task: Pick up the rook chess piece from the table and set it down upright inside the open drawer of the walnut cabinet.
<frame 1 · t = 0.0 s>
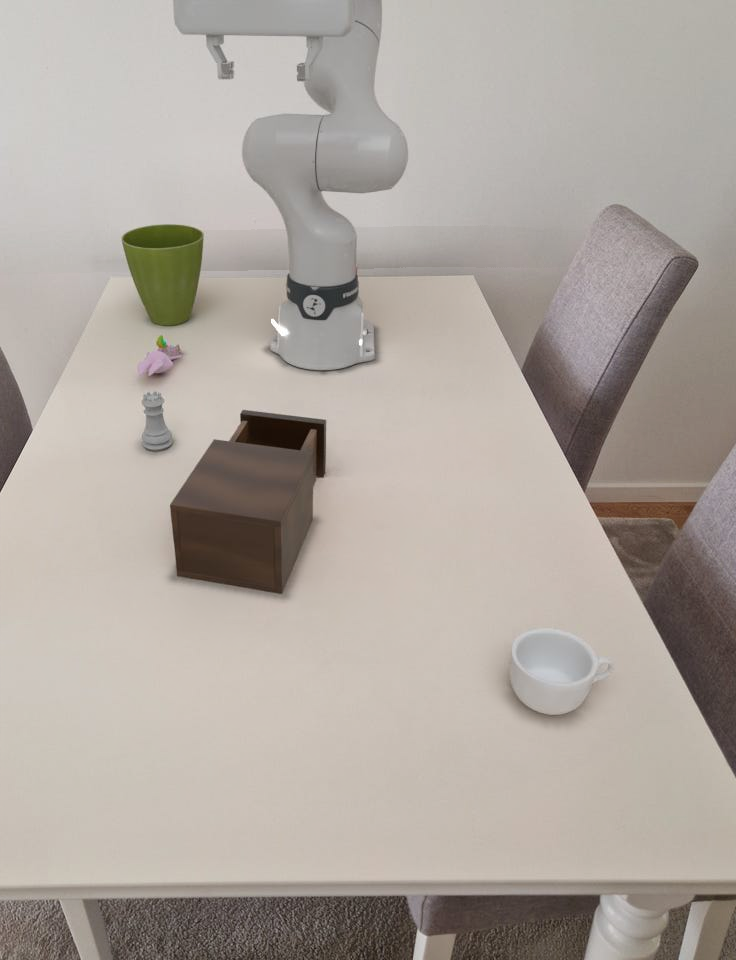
hand: (265, 80, 97), 48 cm above the table, tool pointing down, fingers open, 8 cm apart
flower pot: (170, 319, 163), on the table
drawer: (275, 458, 109), point 5 cm above the table, slide at 8.5 cm
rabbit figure: (160, 371, 143), on the table
cabinet: (248, 547, 102), on the table
teacup: (555, 696, 82), on the table
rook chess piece: (157, 445, 123), on the table
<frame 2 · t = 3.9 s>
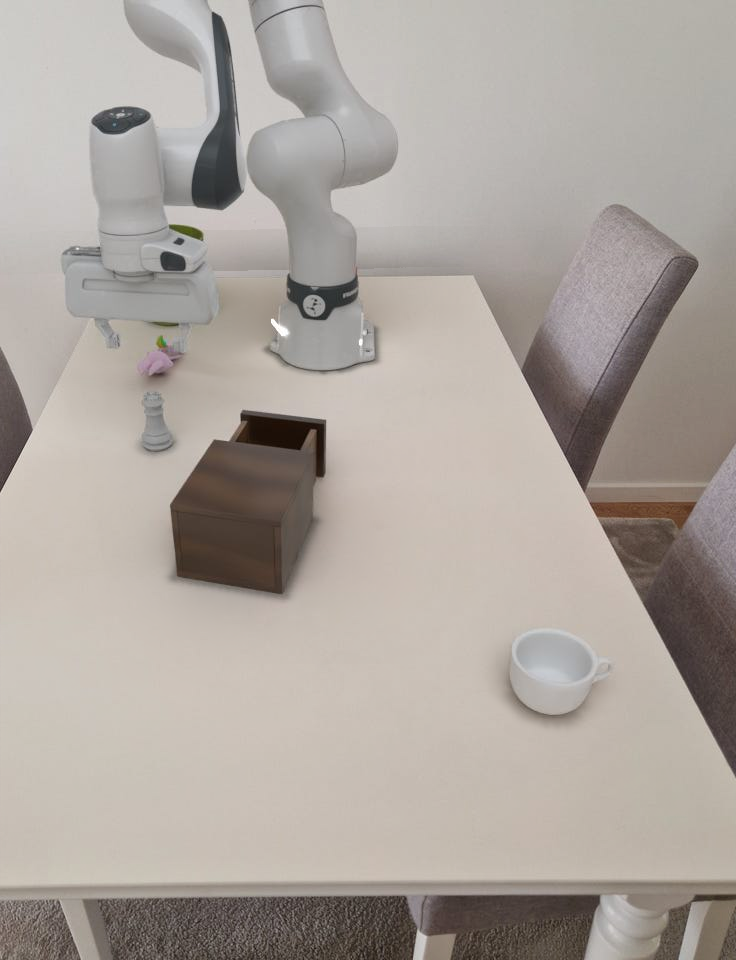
hand: (147, 349, 115), 15 cm above the table, tool pointing down, fingers open, 8 cm apart
nothing on the table moved.
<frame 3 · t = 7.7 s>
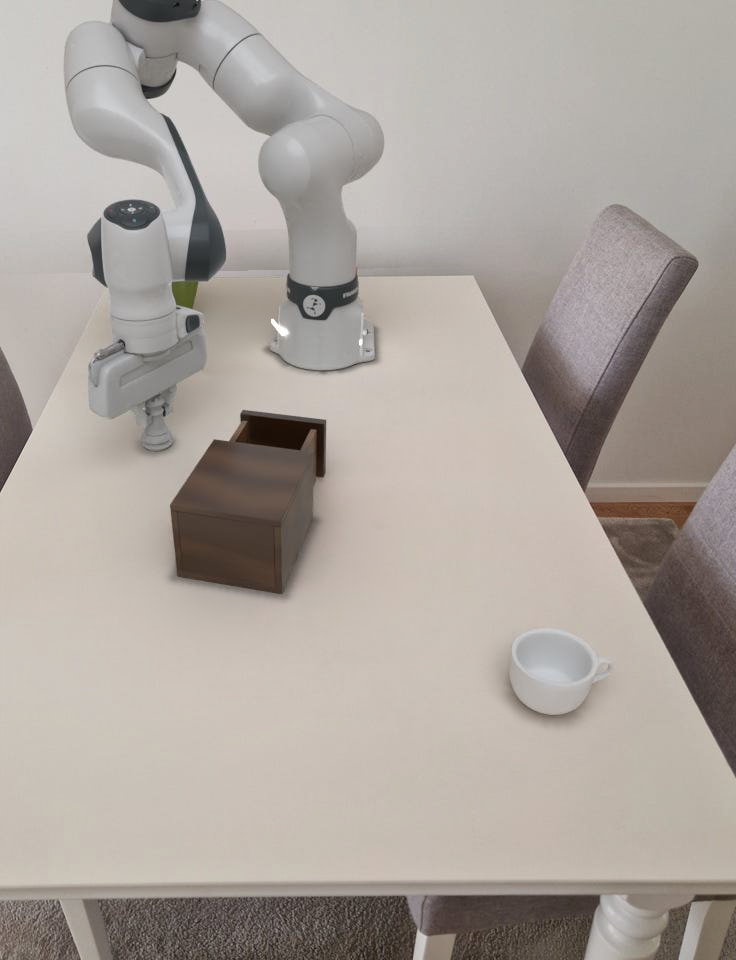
hand: (155, 419, 120), 4 cm above the table, tool pointing down, fingers closed on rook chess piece, 3 cm apart
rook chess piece: (157, 445, 123), on the table, touching gripper
everything else where it was.
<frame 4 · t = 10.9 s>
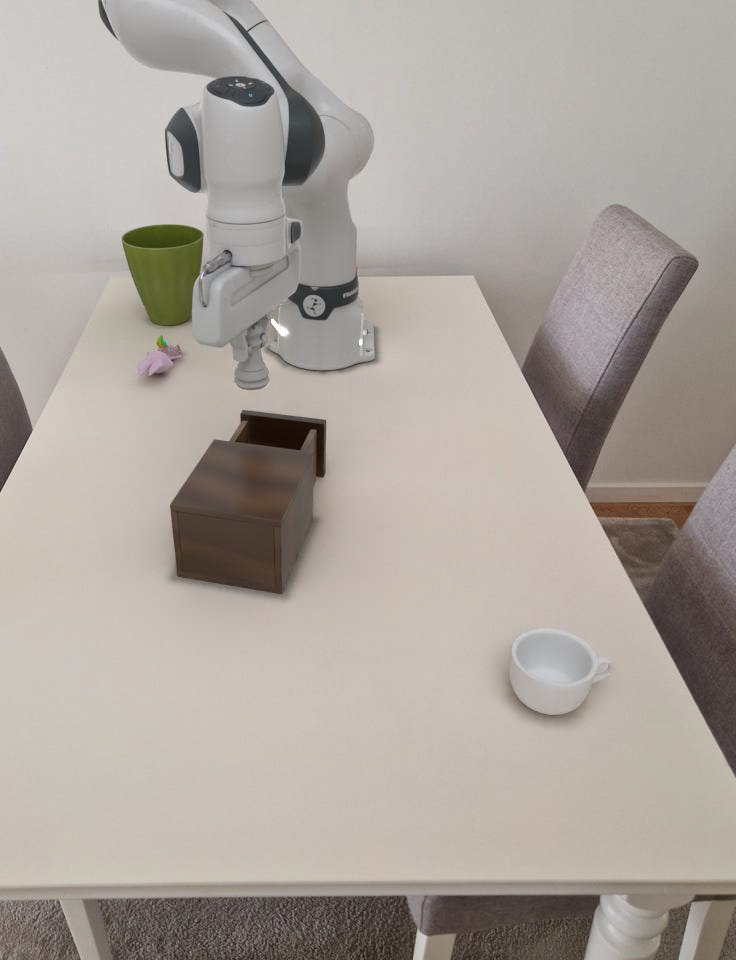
hand: (250, 352, 102), 20 cm above the table, tool pointing down, fingers closed on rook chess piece, 3 cm apart
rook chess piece: (252, 384, 104), point 15 cm above the table, touching gripper
everything else where it was.
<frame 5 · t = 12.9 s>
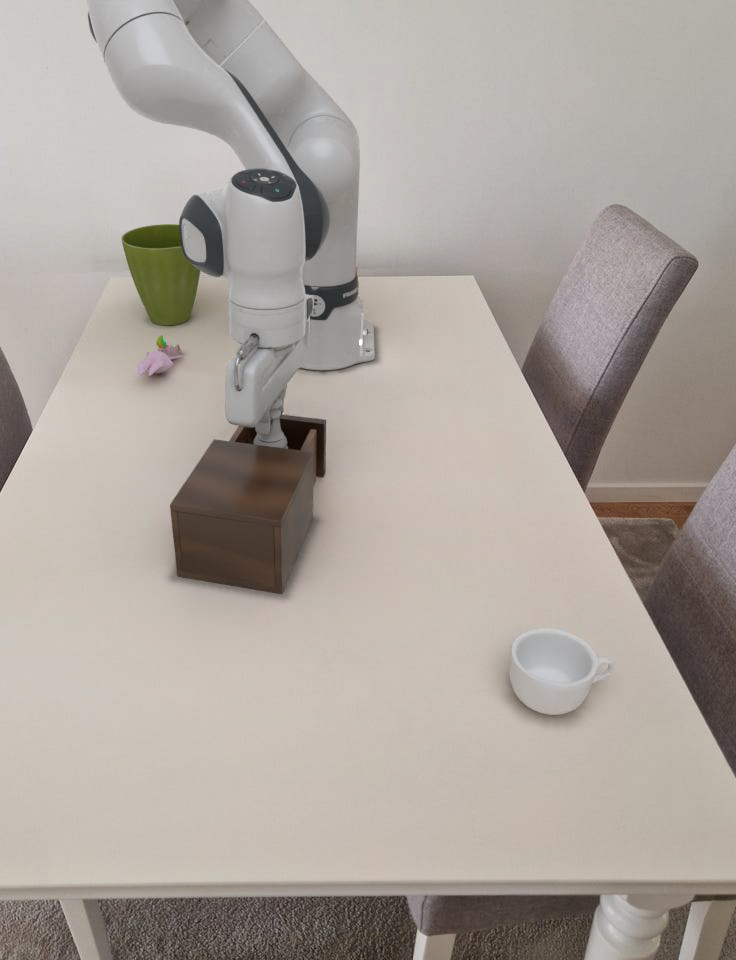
hand: (269, 423, 105), 11 cm above the table, tool pointing down, fingers closed on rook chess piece, 3 cm apart
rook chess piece: (270, 452, 108), point 6 cm above the table, touching gripper
everything else where it was.
when the fingers open (6 cm above the table, at t = 14.6 s): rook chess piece stays where it is, resting on drawer.
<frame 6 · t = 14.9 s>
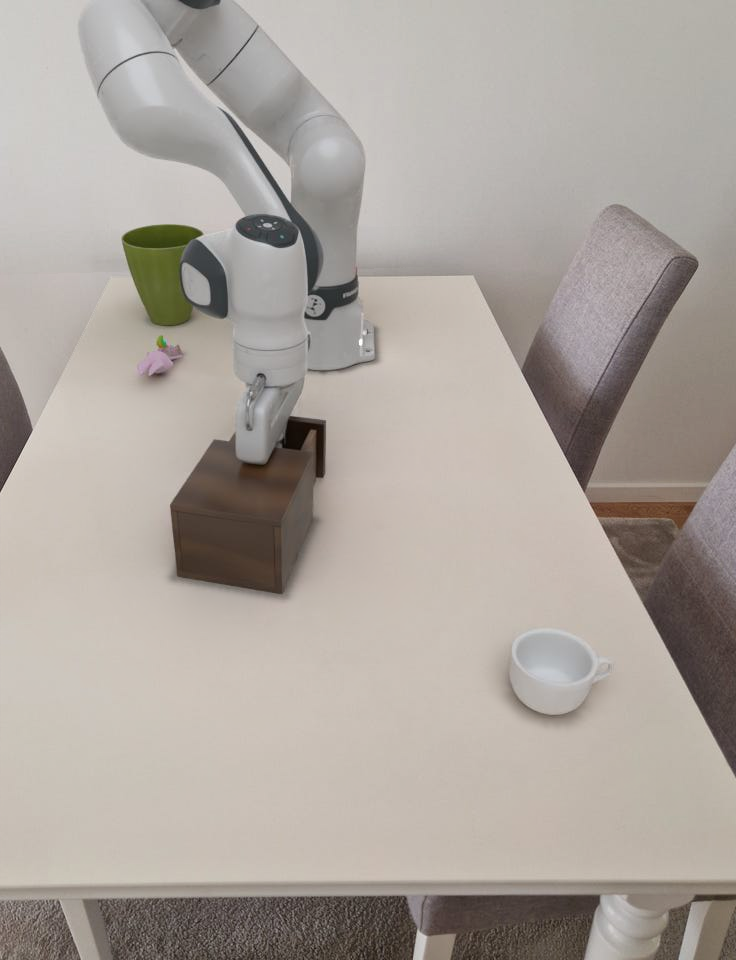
hand: (272, 456, 108), 6 cm above the table, tool pointing down, fingers open, 3 cm apart
drawer: (275, 458, 109), point 5 cm above the table, slide at 8.4 cm, touching gripper, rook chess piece
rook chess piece: (271, 483, 110), point 2 cm above the table, touching drawer
everything else where it was.
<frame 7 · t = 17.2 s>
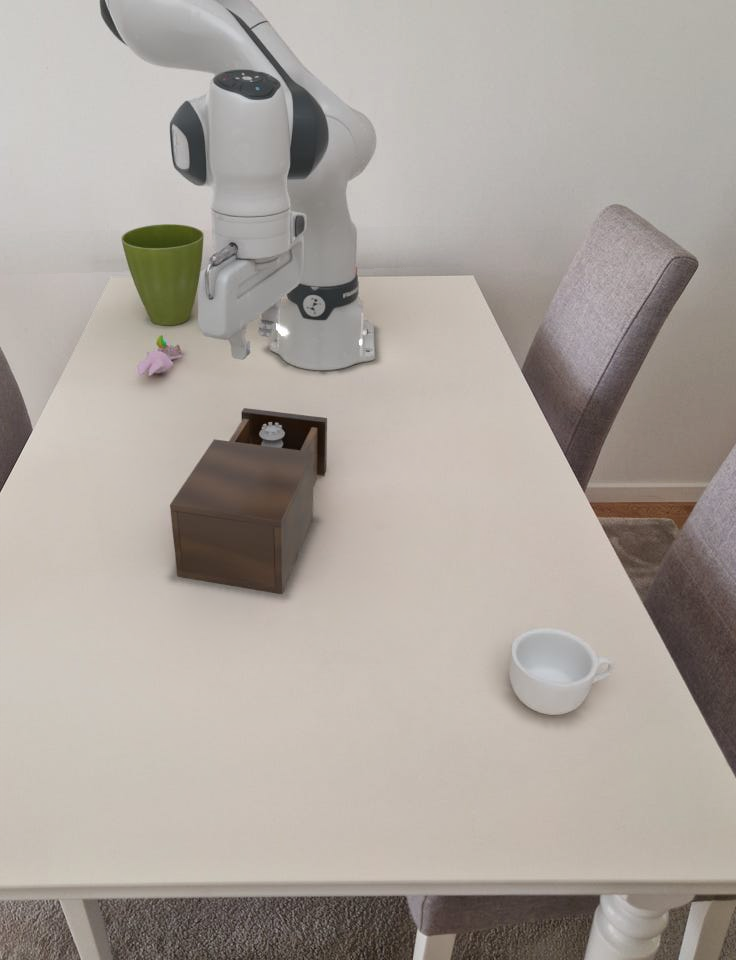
hand: (254, 345, 103), 20 cm above the table, tool pointing down, fingers open, 6 cm apart
drawer: (276, 456, 110), point 5 cm above the table, slide at 9.0 cm, touching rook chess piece
everything else where it was.
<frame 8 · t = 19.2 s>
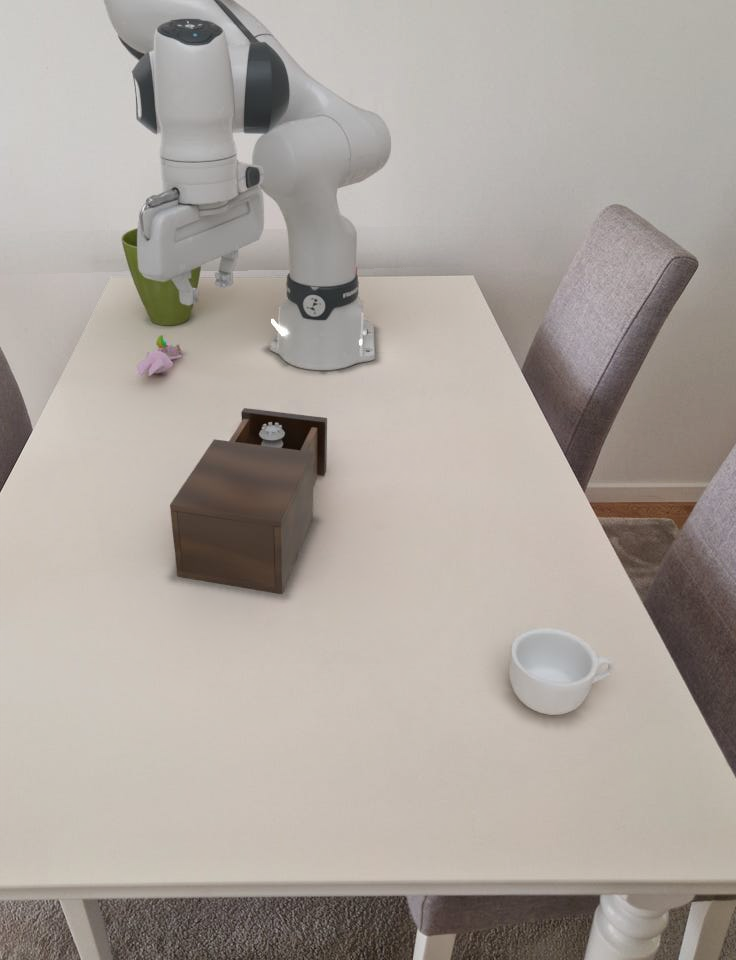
hand: (207, 294, 105), 24 cm above the table, tool pointing down, fingers open, 6 cm apart
nothing on the table moved.
at the end: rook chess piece inside the target area in the drawer (2.0 cm from its centre), point 1.8 cm above the cabinet's base; the gripper is holding nothing; drawer slide at 9.0 cm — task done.
